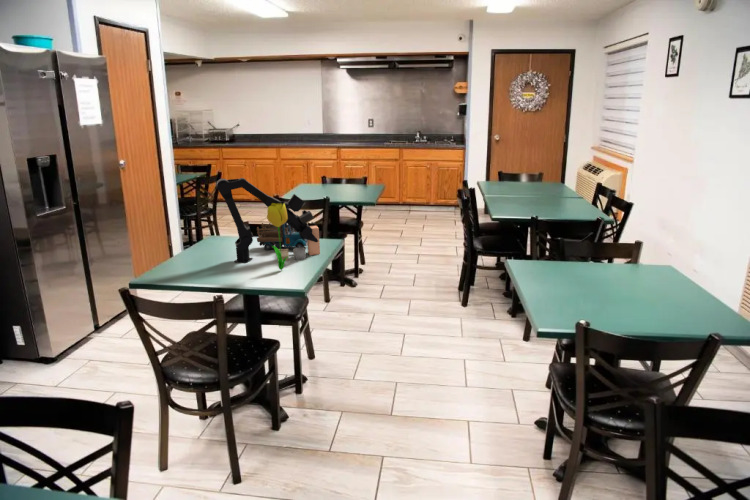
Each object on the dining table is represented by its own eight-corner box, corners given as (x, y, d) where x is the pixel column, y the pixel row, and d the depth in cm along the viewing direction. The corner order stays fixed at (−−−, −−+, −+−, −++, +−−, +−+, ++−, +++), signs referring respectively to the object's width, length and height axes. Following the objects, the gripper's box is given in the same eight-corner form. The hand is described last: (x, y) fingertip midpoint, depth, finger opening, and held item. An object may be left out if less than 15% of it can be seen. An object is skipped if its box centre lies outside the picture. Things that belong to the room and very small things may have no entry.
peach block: (309, 255, 256) (308, 228, 252) (308, 252, 260) (306, 226, 257) (320, 254, 257) (318, 227, 254) (318, 251, 262) (316, 225, 258)
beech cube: (287, 260, 248) (287, 251, 247) (278, 261, 248) (277, 251, 247) (288, 258, 252) (288, 248, 251) (279, 258, 252) (278, 249, 251)
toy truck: (306, 251, 264) (305, 221, 260) (257, 251, 265) (254, 221, 261) (310, 245, 274) (308, 216, 270) (262, 245, 275) (260, 217, 271)
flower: (293, 268, 236) (288, 201, 228) (288, 273, 228) (284, 205, 220) (274, 267, 237) (269, 201, 229) (269, 273, 229) (263, 205, 221)
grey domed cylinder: (303, 260, 248) (302, 250, 247) (292, 259, 249) (291, 250, 248) (307, 256, 253) (306, 247, 252) (296, 256, 255) (295, 247, 253)
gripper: (306, 209, 243) (330, 231, 249) (299, 202, 260) (322, 222, 266) (290, 228, 243) (315, 248, 249) (284, 220, 260) (308, 239, 266)
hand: (315, 239), depth 257 cm, fingers open, 9 cm apart
